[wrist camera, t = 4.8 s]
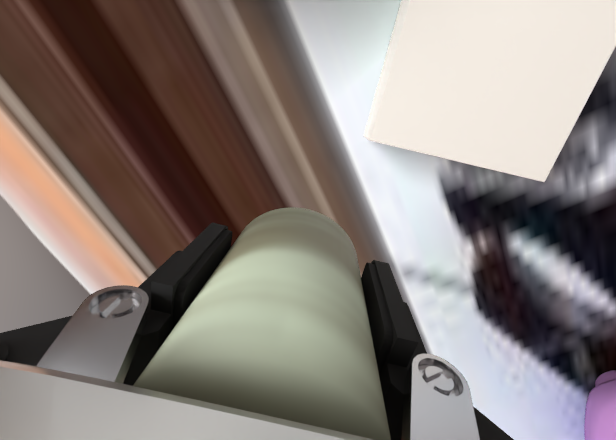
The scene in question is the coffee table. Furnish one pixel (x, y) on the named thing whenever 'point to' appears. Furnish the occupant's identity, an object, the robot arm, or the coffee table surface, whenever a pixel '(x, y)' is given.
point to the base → (491, 79)
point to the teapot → (601, 409)
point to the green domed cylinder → (280, 331)
